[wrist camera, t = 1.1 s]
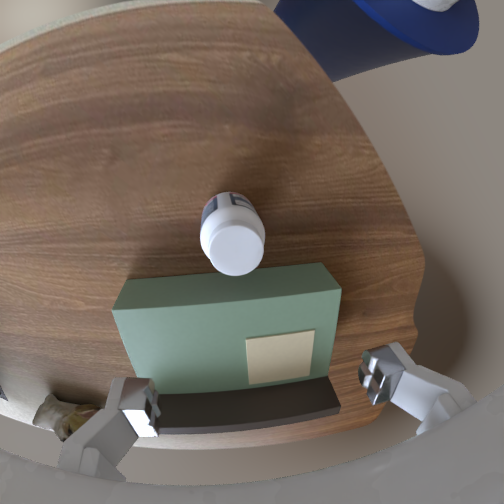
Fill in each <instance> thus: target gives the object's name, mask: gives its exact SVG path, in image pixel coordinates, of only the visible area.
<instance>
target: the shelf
mask: <svg viewBox="0 0 504 504" xmlns="http://www.w3.org/2000/svg"><path fill="white" fill-rule="evenodd" d="M341 292H342V288H341V287H340V285H339V284H338V283H337V282H336V280H335V279H334V278H333V276H332V275H331V274H330V273H329V271H328V270H327V269H326V267H325V266H324V265H323V264H322V262H319V263H309V264H300V265H290V266H280V267H270V268H259V269H254V270H252V271H251V272H249V273H247V274H244V275H239V276H231V275H226V274H224V273H222V272H216V273H205V274H193V275H181V276H169V277H157V278H144V279H131V280H126V282H125V284H124V286H123V288H122V290H121V292H120V294H119V296H118V298H117V300H116V302H115V304H114V306H113V308H112V312H113V315H114V318H115V321H116V324H117V327H118V330H119V332H120V335H121V338H122V340H123V343H124V346H125V348H126V351H127V353H128V356H129V358H130V361H131V363H132V365H133V368H134V370H135V372H136V375H137V377H138V378H152V379H153V381H154V383H155V390H157V391H158V392H159V395H160V398H161V406H162V409H161V415H160V416H159V417H158V420H159V422H160V431H159V434H207V433H223V432H235V431H245V430H253V429H261V428H268V427H275V426H281V425H287V424H293V423H298V422H303V421H308V420H313V419H318V418H322V417H326V416H331V415H335V414H338V413H339V411H340V408H341V405H340V402H339V400H338V398H337V396H336V393H335V391H334V389H333V387H332V384H331V382H330V380H329V378H328V371H329V366H330V361H331V355H332V350H333V344H334V338H335V332H336V326H337V320H338V313H339V306H340V299H341Z"/></svg>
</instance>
